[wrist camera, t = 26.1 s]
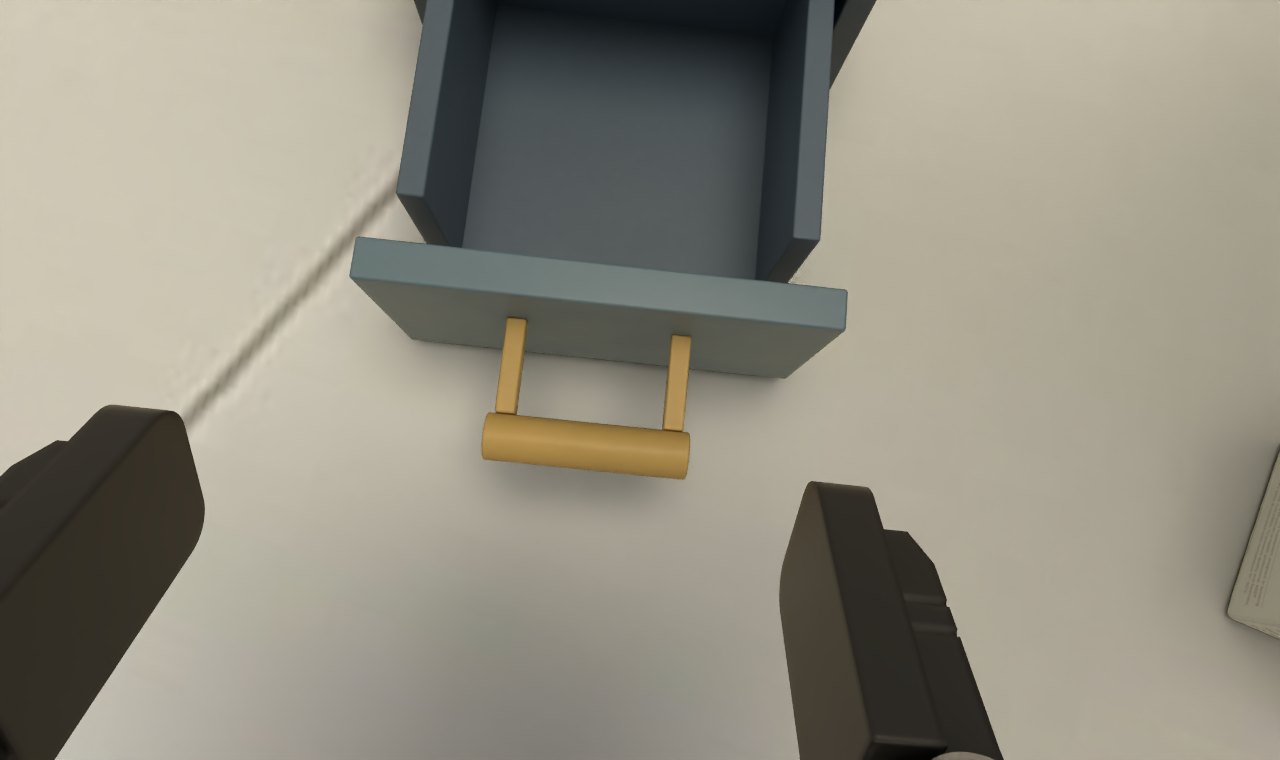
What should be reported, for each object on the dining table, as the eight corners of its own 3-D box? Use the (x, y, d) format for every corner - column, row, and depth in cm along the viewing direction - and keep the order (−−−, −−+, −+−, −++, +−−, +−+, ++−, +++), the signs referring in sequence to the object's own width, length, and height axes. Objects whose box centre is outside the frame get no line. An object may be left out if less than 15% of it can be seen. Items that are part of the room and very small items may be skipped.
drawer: (778, 498, 29) (838, 488, 22) (392, 459, 28) (321, 435, 21) (808, 40, 32) (869, -102, 25) (462, 0, 32) (421, -157, 24)
